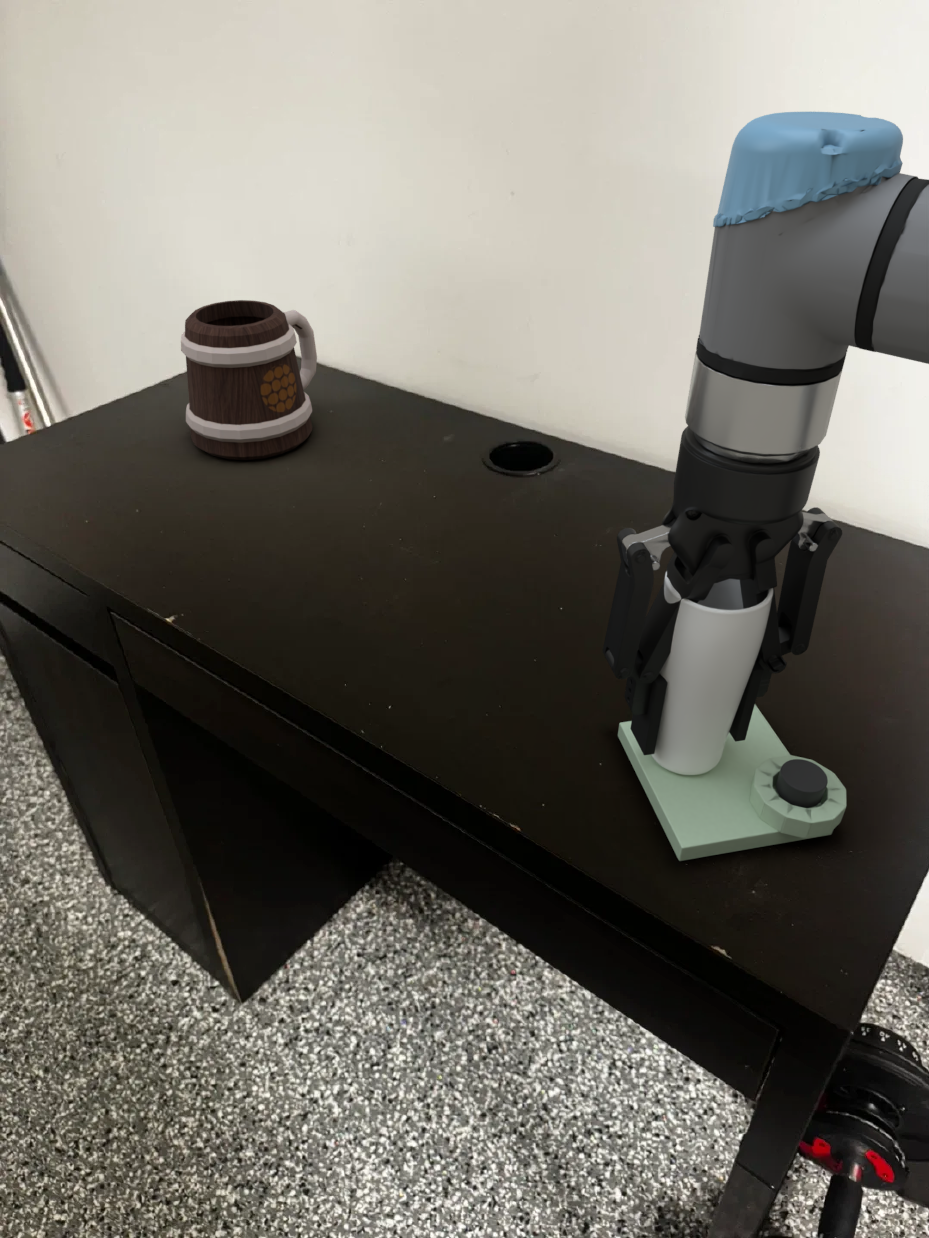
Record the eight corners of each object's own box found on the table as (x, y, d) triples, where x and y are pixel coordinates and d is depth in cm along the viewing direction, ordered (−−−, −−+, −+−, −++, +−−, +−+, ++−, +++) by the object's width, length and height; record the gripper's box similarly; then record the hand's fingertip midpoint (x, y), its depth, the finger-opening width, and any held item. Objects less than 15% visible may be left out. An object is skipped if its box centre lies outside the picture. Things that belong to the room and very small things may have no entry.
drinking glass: (631, 777, 62) (660, 604, 53) (639, 713, 68) (667, 545, 59) (731, 795, 61) (777, 620, 52) (731, 728, 66) (773, 559, 57)
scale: (852, 843, 60) (864, 813, 58) (684, 873, 58) (691, 843, 56) (762, 714, 70) (770, 685, 68) (617, 735, 68) (621, 706, 66)
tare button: (830, 804, 59) (836, 788, 58) (789, 811, 58) (794, 795, 58) (808, 771, 61) (813, 755, 60) (767, 778, 61) (772, 762, 60)
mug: (255, 476, 101) (235, 345, 92) (163, 443, 108) (136, 319, 99) (364, 415, 115) (355, 296, 106) (276, 390, 121) (261, 276, 112)
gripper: (869, 394, 54) (785, 682, 68) (566, 419, 51) (543, 717, 65) (946, 448, 48) (837, 752, 62) (610, 481, 45) (574, 793, 59)
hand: (687, 733), depth 63 cm, fingers closed on drinking glass, 6 cm apart
